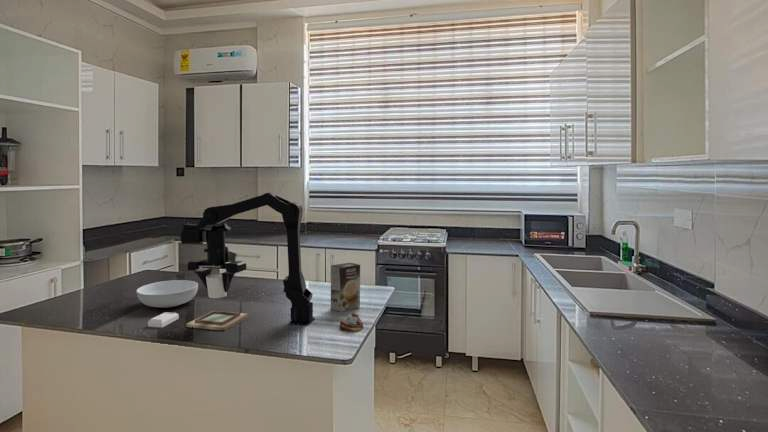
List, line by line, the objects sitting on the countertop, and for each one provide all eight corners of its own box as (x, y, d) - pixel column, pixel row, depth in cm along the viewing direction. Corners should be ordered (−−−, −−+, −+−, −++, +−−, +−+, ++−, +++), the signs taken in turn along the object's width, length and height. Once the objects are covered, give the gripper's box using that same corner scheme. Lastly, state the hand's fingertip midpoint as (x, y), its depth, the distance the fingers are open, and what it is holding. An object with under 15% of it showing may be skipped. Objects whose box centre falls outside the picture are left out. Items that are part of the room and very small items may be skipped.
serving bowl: (128, 304, 166) (127, 286, 166) (185, 294, 181) (184, 277, 181) (149, 317, 152) (148, 297, 151) (208, 304, 167) (208, 286, 167)
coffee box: (341, 312, 157) (341, 268, 156) (330, 308, 162) (329, 265, 160) (360, 307, 164) (360, 264, 162) (349, 303, 168) (349, 261, 167)
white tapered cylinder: (221, 292, 151) (220, 271, 150) (232, 295, 147) (232, 274, 146) (202, 296, 146) (201, 275, 145) (213, 300, 141) (212, 278, 141)
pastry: (364, 331, 139) (364, 315, 138) (340, 333, 138) (340, 317, 137) (361, 323, 147) (361, 308, 146) (338, 324, 145) (338, 309, 145)
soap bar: (147, 327, 142) (147, 319, 142) (165, 318, 151) (165, 311, 151) (162, 328, 142) (161, 320, 141) (178, 319, 150) (178, 312, 150)
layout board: (248, 316, 152) (248, 311, 152) (224, 330, 139) (224, 325, 138) (212, 313, 156) (212, 308, 155) (186, 326, 142) (185, 321, 142)
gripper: (254, 242, 150) (255, 287, 152) (206, 240, 155) (208, 284, 156) (236, 247, 139) (237, 295, 141) (184, 245, 144) (187, 292, 145)
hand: (217, 291), depth 146 cm, fingers closed on white tapered cylinder, 6 cm apart
